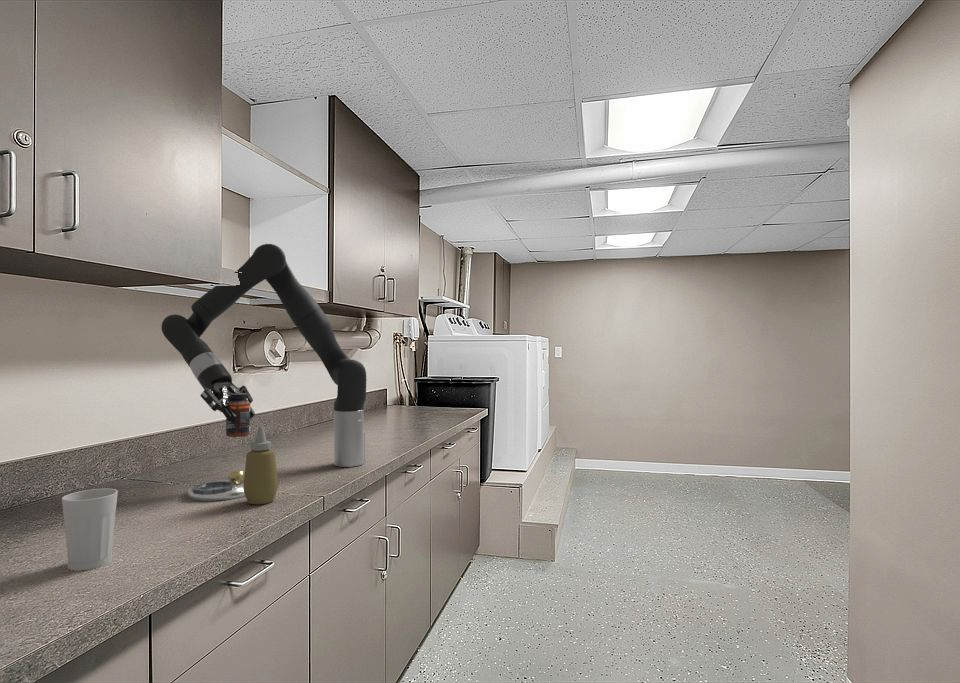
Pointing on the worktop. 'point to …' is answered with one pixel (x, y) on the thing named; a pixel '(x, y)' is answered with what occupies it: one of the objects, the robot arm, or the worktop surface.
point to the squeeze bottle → (260, 471)
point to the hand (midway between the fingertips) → (243, 418)
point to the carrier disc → (219, 488)
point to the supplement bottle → (239, 416)
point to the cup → (89, 527)
